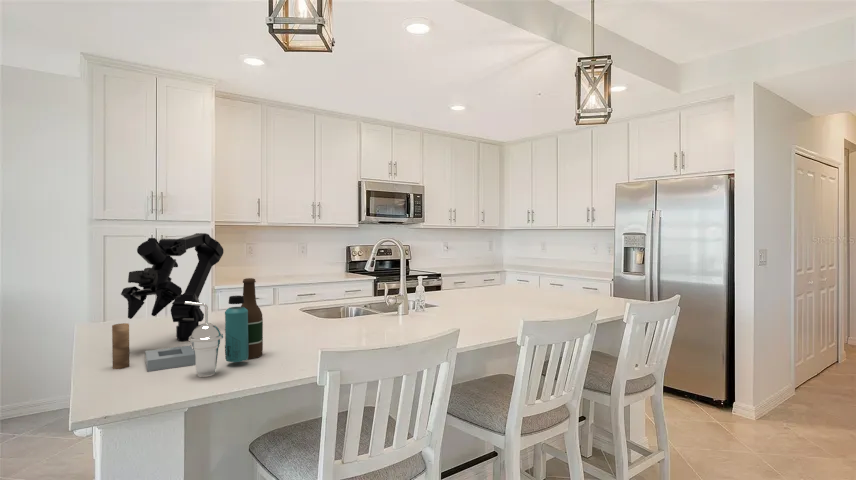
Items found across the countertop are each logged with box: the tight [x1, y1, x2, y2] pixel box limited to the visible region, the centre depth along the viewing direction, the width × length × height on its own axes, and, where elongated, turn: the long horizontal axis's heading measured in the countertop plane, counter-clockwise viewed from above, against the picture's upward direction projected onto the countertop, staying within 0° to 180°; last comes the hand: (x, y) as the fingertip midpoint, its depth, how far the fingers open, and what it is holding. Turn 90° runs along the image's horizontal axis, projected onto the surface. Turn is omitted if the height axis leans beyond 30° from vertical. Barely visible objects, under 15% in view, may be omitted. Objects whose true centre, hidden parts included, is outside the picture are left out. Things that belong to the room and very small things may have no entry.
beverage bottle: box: [224, 295, 249, 363], centre depth 134 cm, size 6×7×20 cm
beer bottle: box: [240, 277, 264, 360], centre depth 142 cm, size 8×8×24 cm
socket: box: [144, 344, 196, 373], centre depth 135 cm, size 12×12×3 cm
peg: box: [111, 322, 131, 370], centre depth 131 cm, size 4×4×12 cm
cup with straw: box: [185, 301, 224, 378], centre depth 125 cm, size 8×9×20 cm
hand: (141, 317), depth 140 cm, fingers open, 9 cm apart
